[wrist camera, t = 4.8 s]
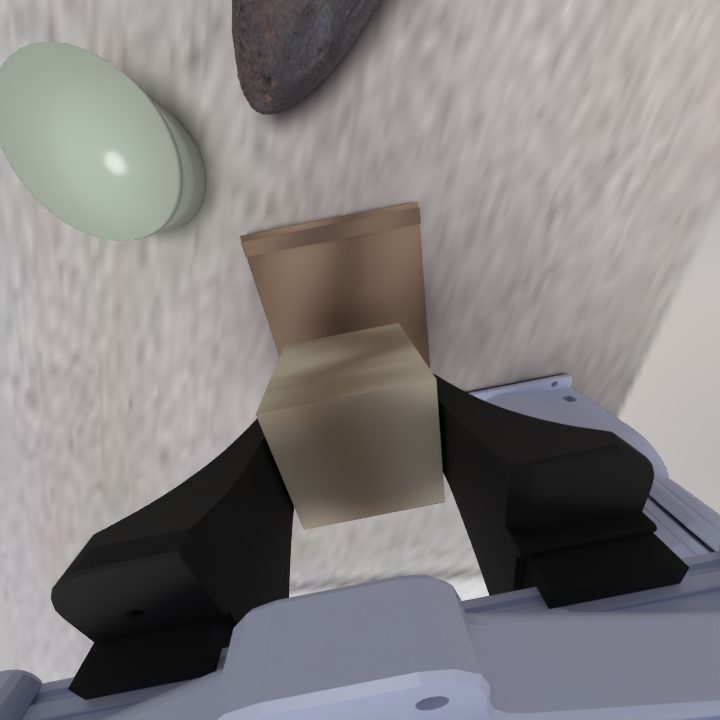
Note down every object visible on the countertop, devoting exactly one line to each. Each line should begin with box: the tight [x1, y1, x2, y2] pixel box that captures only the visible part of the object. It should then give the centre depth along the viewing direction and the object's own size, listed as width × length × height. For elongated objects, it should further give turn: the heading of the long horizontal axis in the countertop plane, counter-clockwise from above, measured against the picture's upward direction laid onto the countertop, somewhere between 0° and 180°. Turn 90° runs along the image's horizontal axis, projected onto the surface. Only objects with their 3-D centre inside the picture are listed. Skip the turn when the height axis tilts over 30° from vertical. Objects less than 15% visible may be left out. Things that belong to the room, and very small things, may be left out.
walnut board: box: [240, 202, 430, 369], centre depth 19 cm, size 10×14×1 cm
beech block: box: [256, 323, 445, 530], centre depth 11 cm, size 5×5×5 cm
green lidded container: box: [0, 42, 206, 241], centre depth 13 cm, size 7×7×4 cm
